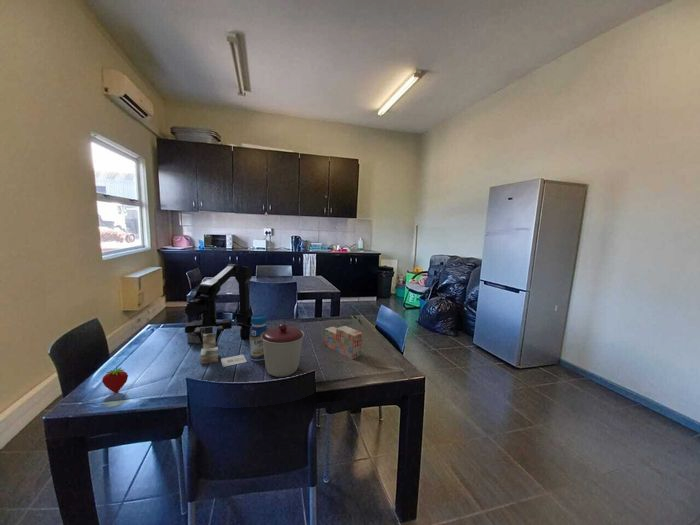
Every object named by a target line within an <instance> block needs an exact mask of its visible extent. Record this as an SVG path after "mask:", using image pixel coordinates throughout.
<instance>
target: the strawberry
mask: <svg viewBox="0 0 700 525" xmlns="http://www.w3.org/2000/svg"><path fill="white" fill-rule="evenodd" d="M117 367H118V365H117V364H116V366H115V368H116V369H115V370H111V369H110V370H109V371H106V372H105V373H106V374H105V375H103V377H102V379H101V382H102V383H103V386H104V387H105V388H107V389H108V390H109V391H111V392H113V393H117V394H118V392H120V390H121V389H122V388H123V387H124V386H125V384H126V383H127V381H128V378H129V375H128V372H125V370H124V369H122V367H120V368H117Z"/></svg>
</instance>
